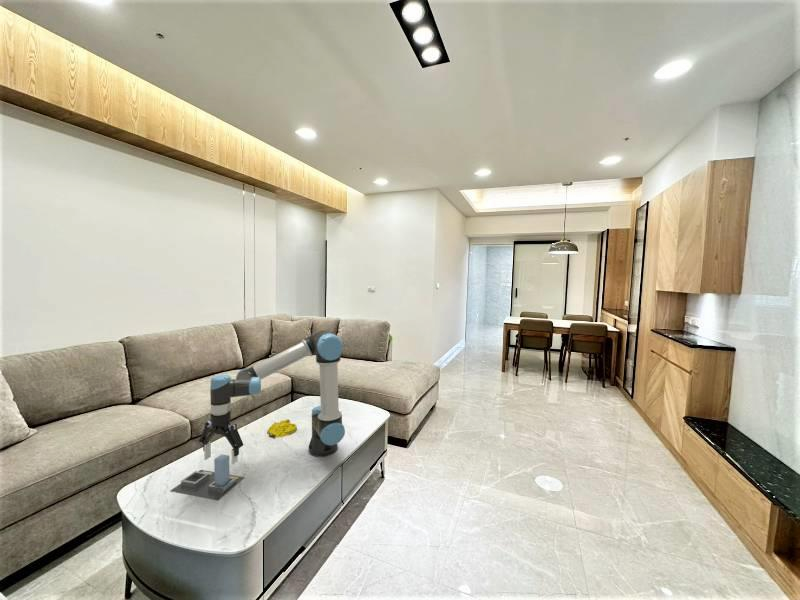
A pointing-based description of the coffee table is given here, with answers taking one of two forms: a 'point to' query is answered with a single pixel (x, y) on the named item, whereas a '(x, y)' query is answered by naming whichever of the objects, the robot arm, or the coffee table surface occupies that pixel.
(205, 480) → the panel
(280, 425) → the door knocker
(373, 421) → the coffee table surface
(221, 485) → the plug
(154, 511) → the coffee table surface
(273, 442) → the coffee table surface
